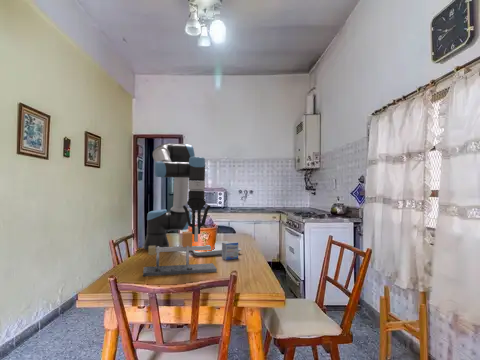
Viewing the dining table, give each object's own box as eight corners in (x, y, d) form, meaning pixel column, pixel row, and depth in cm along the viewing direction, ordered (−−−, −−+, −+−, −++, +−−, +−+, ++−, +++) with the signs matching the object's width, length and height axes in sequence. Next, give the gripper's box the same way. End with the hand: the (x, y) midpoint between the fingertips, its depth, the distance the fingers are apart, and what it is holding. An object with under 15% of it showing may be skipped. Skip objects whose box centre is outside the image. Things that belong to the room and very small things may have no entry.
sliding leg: (181, 264, 148) (182, 231, 148) (190, 263, 149) (191, 231, 149) (183, 267, 142) (183, 233, 142) (191, 266, 143) (192, 233, 143)
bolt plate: (143, 270, 145) (143, 266, 145) (212, 266, 154) (212, 262, 154) (143, 276, 136) (143, 272, 136) (216, 272, 144) (216, 268, 144)
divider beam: (148, 266, 143) (148, 245, 143) (209, 263, 150) (210, 242, 150) (148, 269, 137) (148, 247, 138) (211, 266, 145) (212, 245, 145)
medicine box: (225, 260, 166) (226, 243, 166) (221, 258, 170) (221, 242, 170) (238, 258, 171) (238, 242, 171) (234, 256, 174) (234, 241, 174)
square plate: (185, 248, 196) (185, 242, 196) (227, 246, 206) (227, 240, 206) (194, 258, 170) (194, 251, 171) (242, 255, 180) (242, 248, 180)
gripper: (183, 190, 142) (182, 243, 141) (212, 190, 145) (211, 242, 145) (181, 190, 149) (181, 240, 149) (209, 190, 152) (208, 239, 152)
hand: (195, 241), depth 147 cm, fingers closed
